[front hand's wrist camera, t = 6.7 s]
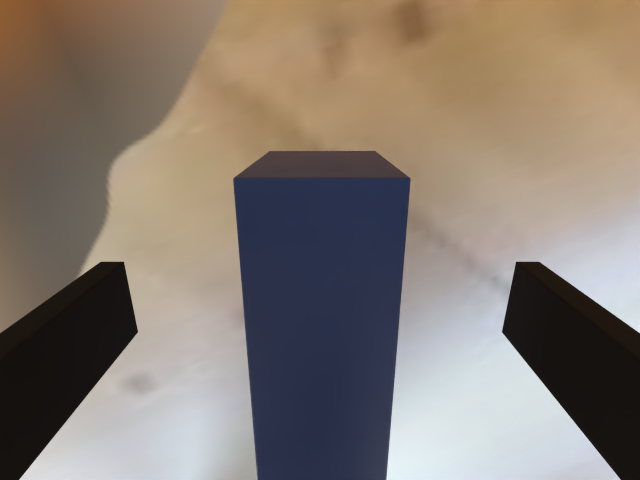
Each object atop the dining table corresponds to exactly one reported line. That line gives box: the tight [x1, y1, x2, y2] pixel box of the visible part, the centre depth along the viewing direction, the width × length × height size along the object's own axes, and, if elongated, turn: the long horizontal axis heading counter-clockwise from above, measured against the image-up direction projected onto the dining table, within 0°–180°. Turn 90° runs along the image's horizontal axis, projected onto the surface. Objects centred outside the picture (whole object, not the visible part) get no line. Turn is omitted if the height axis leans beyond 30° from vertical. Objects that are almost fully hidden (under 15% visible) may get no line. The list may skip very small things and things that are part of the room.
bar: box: [233, 151, 410, 480], centre depth 19 cm, size 25×5×8 cm, turn 0°
